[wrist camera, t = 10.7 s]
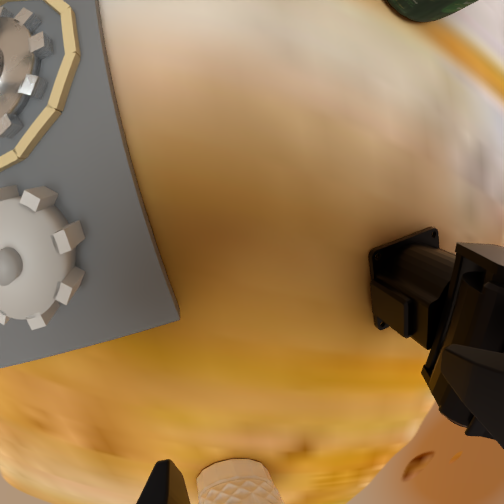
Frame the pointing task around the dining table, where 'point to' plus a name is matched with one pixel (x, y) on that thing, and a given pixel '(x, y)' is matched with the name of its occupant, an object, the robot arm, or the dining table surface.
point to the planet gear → (20, 66)
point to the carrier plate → (73, 206)
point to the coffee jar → (428, 8)
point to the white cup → (237, 484)
